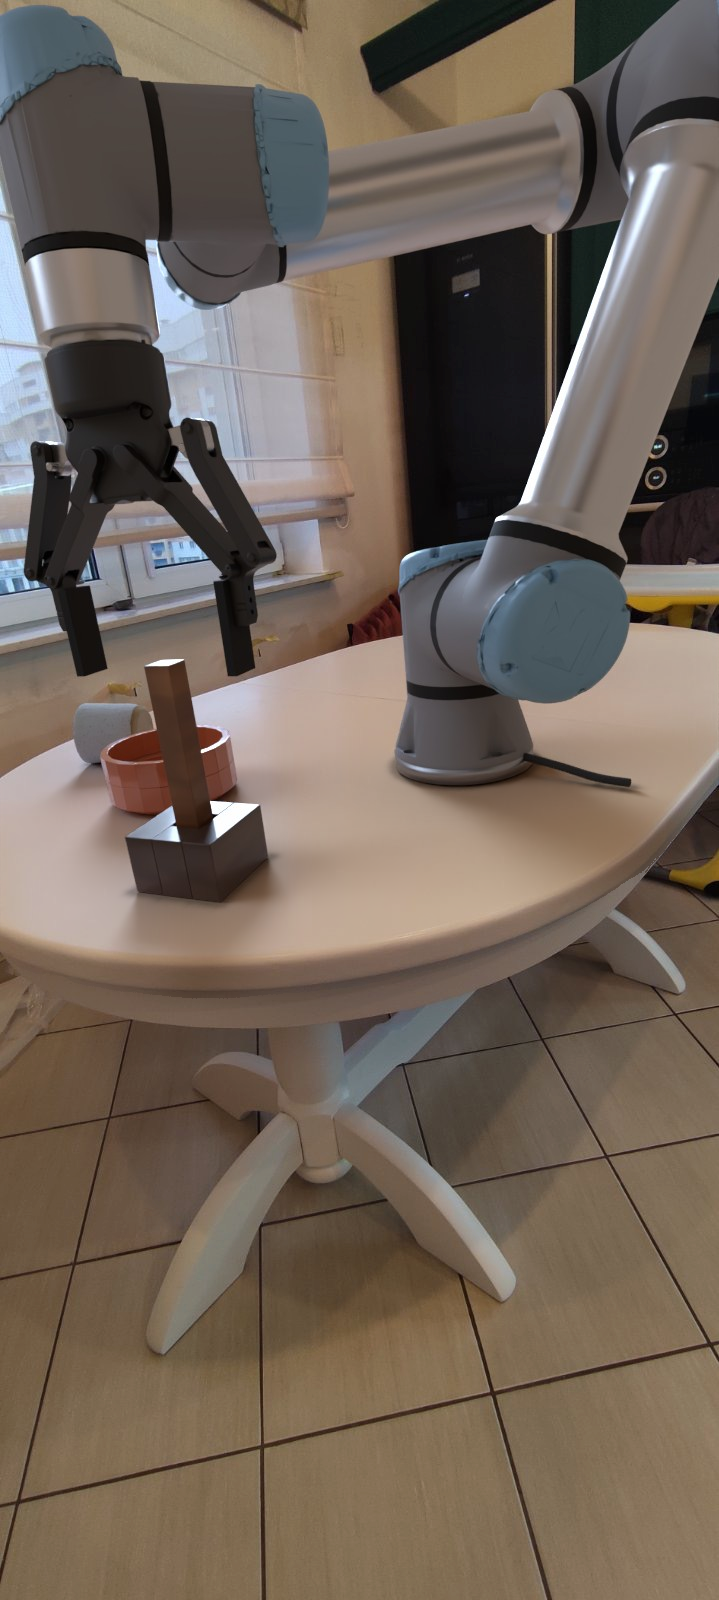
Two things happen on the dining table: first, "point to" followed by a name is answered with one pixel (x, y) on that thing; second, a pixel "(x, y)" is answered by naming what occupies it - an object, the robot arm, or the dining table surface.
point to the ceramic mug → (106, 726)
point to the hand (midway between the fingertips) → (164, 673)
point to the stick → (179, 742)
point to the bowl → (162, 769)
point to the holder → (198, 852)
